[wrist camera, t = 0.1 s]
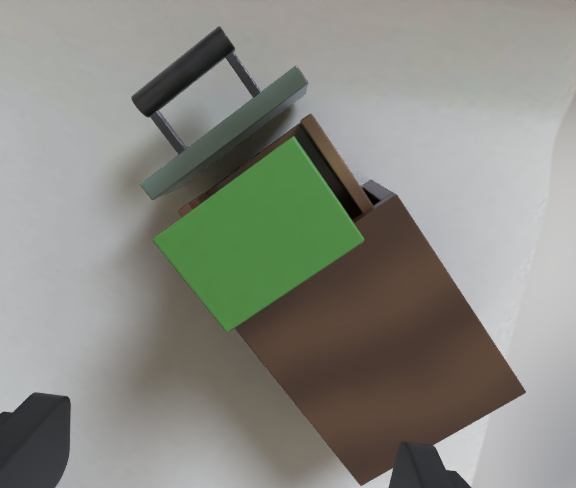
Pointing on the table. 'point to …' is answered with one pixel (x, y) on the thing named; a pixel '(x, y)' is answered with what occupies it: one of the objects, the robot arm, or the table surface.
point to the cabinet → (382, 345)
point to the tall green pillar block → (260, 236)
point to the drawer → (238, 127)
